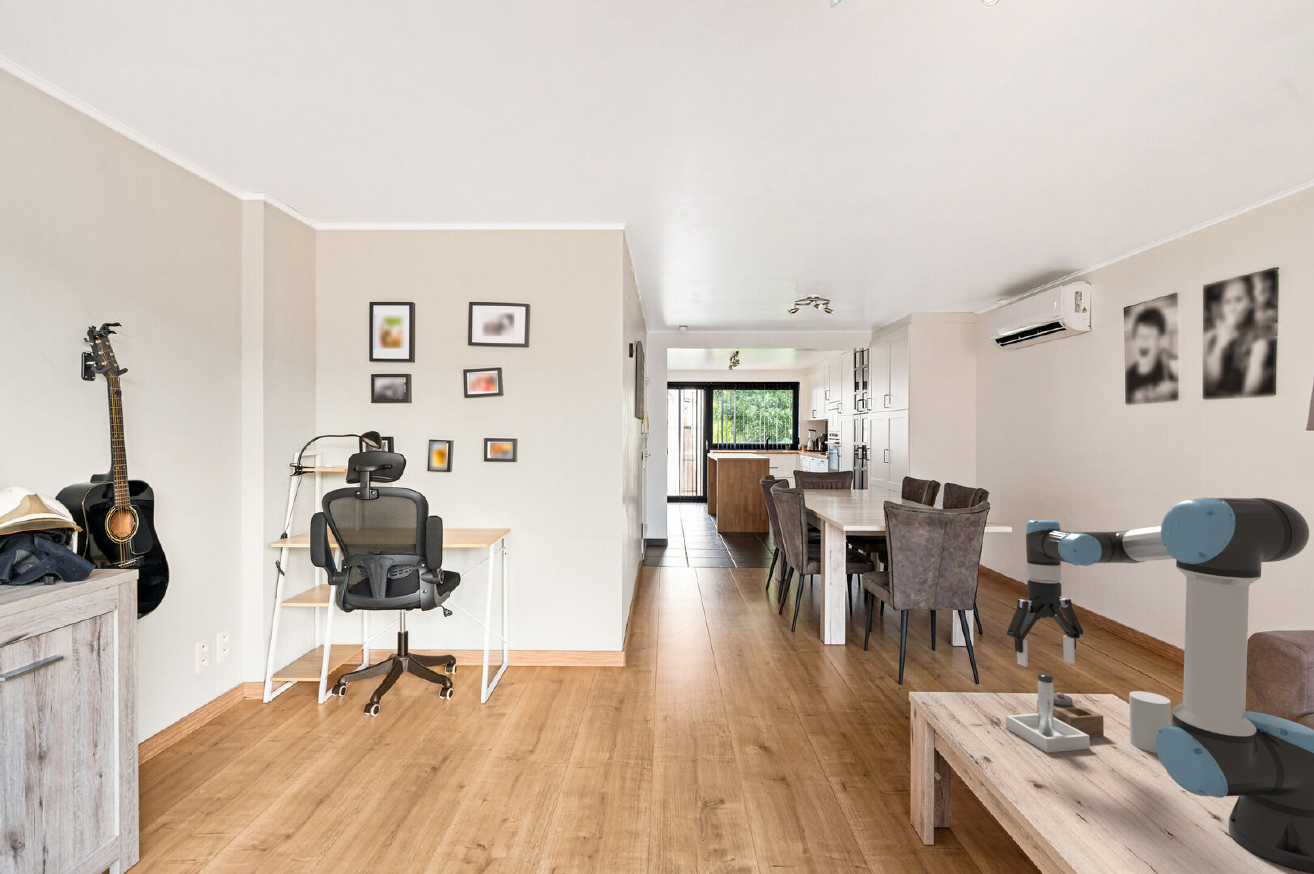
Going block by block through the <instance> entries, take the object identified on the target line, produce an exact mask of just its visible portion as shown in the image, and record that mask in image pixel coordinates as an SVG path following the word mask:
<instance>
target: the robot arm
mask: <svg viewBox="0 0 1314 874" xmlns="http://www.w3.org/2000/svg"><path fill="white" fill-rule="evenodd" d="M1309 539H1310V529H1309V524H1308V523H1307V521H1306V519H1305V517H1304V516H1303V515H1302V514H1301V513H1300V512H1299V511H1298V510H1297V509H1295V508H1294V507H1292V506H1291V505H1289V504H1288V503H1285V502H1282V501H1280V500H1277V499H1276V500H1275V499H1273V498H1272V499H1271V498H1265V497H1261V498H1260V497H1252V498H1248V497H1247V498H1245V497H1241V498H1240V497H1235V498H1234V497H1232V498H1231V497H1201V498H1193V499H1190V498H1189V499H1186V500H1182V501H1180V502H1178V503H1175V505H1174V506H1173V507H1171V508H1170V509H1168V511H1167V512H1166V514H1164V517H1163V519H1162V522H1161V524H1160V525H1156V526H1148V527H1142V528H1135V529H1127V530H1121V531H1066V530H1061V526H1060V523H1059V521H1057V520H1052V519H1030V520H1028V521H1027V522H1026V531H1025V545H1026V546H1025V547H1026V548H1025V549H1026V577H1027V578H1028V580H1026V583H1027V586H1026V590H1027V591H1026V592H1027V594H1028V596H1029V597H1028V600H1025V599H1022V598H1018V599H1017V604H1016V605H1017V606H1016V609H1015V612H1014V615H1013V617H1012V619H1011V622H1010V624H1009V627H1008V629H1007V631H1006V635H1007V636H1009V637H1011V638H1013V640H1014V650H1015V652H1016V663H1017V664H1018V665H1020V666H1022V667H1024V668H1026V667H1027V668H1028V666H1029V665H1028V664H1029V663H1028V660H1029V659H1028V640H1027V639H1025V638H1026V637H1027V636H1028V634H1029V633H1030V631H1031V630H1032V628H1033V626H1034V625H1035V624H1036V622H1037V621H1038V620H1040V619H1041V618H1042V619H1046V618H1053V619H1054V621H1055V622H1056V623H1057V625H1058V626H1059V627H1060V628H1061V630H1062V631H1063V632H1064V634H1065V635H1062V639H1063V640H1062V641H1063V642H1062V643H1063V644H1062V645H1063V646H1062V647H1063V662H1066V663H1068V664H1072V665H1075V663H1076V662H1075V661H1076V659H1075V656H1076V655H1075V653H1076V652H1075V650H1076V649H1077V639H1080V637H1081V635H1083V634H1084V630H1083V628H1082V625H1081V623H1080V622H1079V619H1078V617H1077V616H1076V613H1075V611H1074V609H1073V605H1072V599H1069V598H1067V597H1062V594H1063V593H1062V583H1061V582H1060V581H1061V580H1062V562H1064V563H1067V564H1071V565H1074V566H1083V567H1088V566H1093V565H1094V564H1111V563H1112V564H1139V563H1145V562H1148V561H1149V562H1151V561H1165V560H1167V561H1168V560H1175V561H1176V564H1175V566H1176V569H1177V570H1178V571H1179V572H1180V573H1182V574H1183V575H1184V576H1185V578H1186V579H1185V580H1186V584H1185V586H1186V587H1185V618H1184V619H1185V620H1184V652H1183V655H1184V656H1183V657H1184V659H1183V660H1184V661H1183V662H1184V663H1183V692H1182V693H1183V697H1182V698H1183V699H1182V702H1181V703H1179V704H1176V705H1175V706H1174V707H1173V708H1172V710H1171V725H1166V726H1164V727H1162V728H1161V729H1160V730H1158V732H1157V734H1156V737H1155V745H1156V750H1157V753H1156V754H1157V756H1158V759H1159V762H1160V763H1161V765H1162V767H1164V769H1165V770H1166V773H1167V774H1168V775H1169V776H1170V778H1171V779H1172V780H1173V781H1174V782H1175V783H1176V784H1177V785H1178V786H1179V787H1181V788H1183V790H1186V791H1187V792H1189V793H1190V794H1193V795H1196V796H1200V797H1213V798H1217V799H1220V798H1221V799H1222V798H1224V797H1238V798H1237V799H1236V801H1235V804H1234V806H1233V808H1232V810H1231V812H1230V815H1229V817H1228V833H1229V835H1230V836H1231V838H1232V839H1233V840H1234V841H1236V842H1237V843H1238V844H1239V845H1241V847H1243V848H1245V849H1246V850H1248V851H1250V852H1251V853H1254V854H1255V855H1258V856H1260V857H1261V858H1264V859H1266V860H1268V861H1271V862H1274V863H1276V864H1279V865H1281V866H1285V867H1288V868H1291V869H1295V870H1299V871H1302V872H1308V873H1312V874H1313V873H1314V729H1312V728H1310V727H1308V726H1306V725H1303V724H1302V723H1298V722H1296V721H1295V722H1294V721H1292V720H1290V719H1286V718H1282V717H1279V716H1276V715H1272V714H1266V713H1264V712H1263V713H1262V712H1256V711H1246V704H1247V703H1246V702H1247V701H1246V700H1247V697H1246V696H1247V695H1246V694H1247V671H1248V670H1247V669H1248V667H1247V663H1248V662H1247V661H1248V637H1249V636H1248V634H1249V633H1248V631H1249V630H1248V629H1249V627H1248V626H1249V601H1250V600H1249V598H1250V585H1252V584H1253V583H1255V582H1257V581H1258V580H1260V579H1261V578H1262V563H1273V562H1275V563H1276V562H1281V561H1285V560H1288V559H1291V558H1293V557H1295V556H1297V555H1298V554H1300V553H1301V552H1302V551H1303V550H1304V549H1305V548H1306V546H1307V544H1308V542H1309ZM1060 609H1061V610H1060Z"/></svg>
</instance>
